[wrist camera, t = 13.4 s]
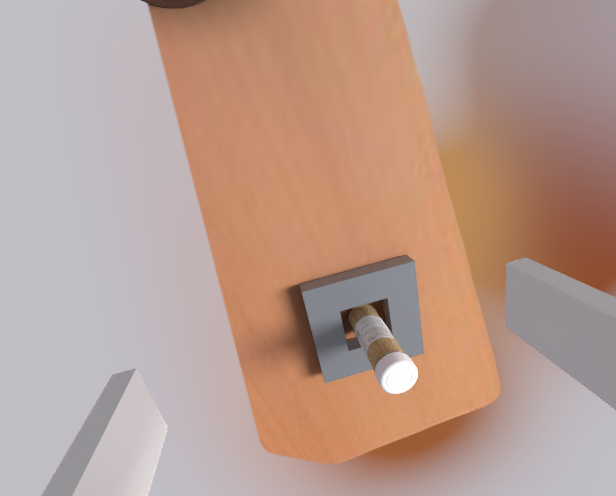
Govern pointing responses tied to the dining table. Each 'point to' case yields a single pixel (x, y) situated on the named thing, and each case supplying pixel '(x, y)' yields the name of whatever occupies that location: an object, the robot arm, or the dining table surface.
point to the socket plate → (355, 292)
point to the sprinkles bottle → (382, 350)
